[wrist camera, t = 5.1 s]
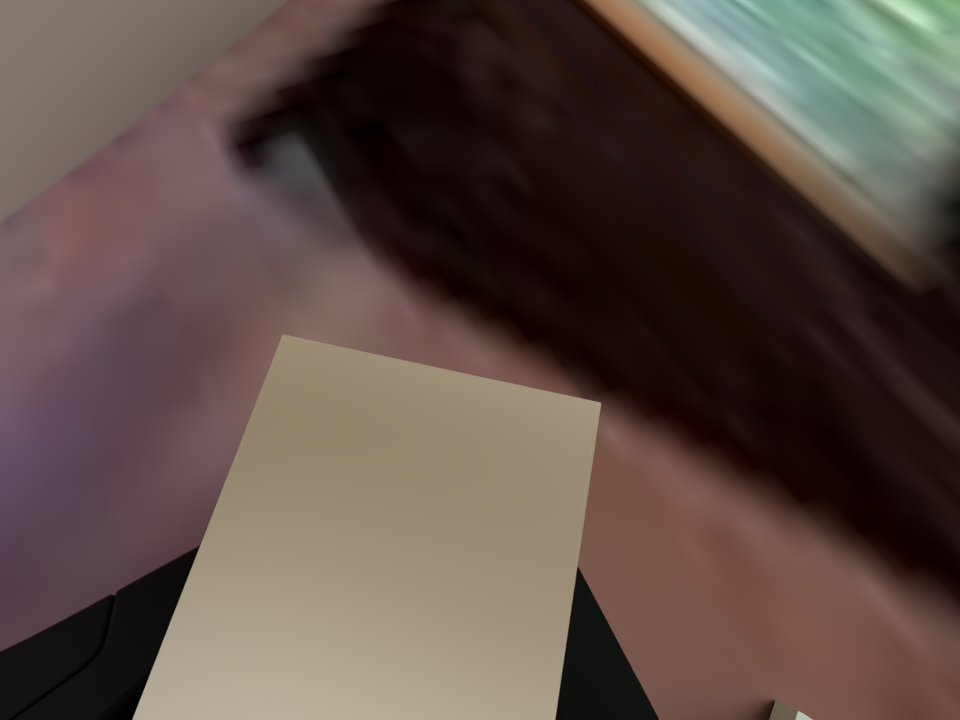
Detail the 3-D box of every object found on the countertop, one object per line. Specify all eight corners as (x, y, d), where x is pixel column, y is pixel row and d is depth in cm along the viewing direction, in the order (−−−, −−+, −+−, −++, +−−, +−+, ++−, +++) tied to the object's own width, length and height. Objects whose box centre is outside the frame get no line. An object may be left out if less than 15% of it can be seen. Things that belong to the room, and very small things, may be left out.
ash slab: (474, 710, 13) (480, 1238, 3) (359, 680, 13) (-10, 1081, 3) (512, 510, 15) (600, 403, 5) (411, 486, 15) (283, 335, 5)
